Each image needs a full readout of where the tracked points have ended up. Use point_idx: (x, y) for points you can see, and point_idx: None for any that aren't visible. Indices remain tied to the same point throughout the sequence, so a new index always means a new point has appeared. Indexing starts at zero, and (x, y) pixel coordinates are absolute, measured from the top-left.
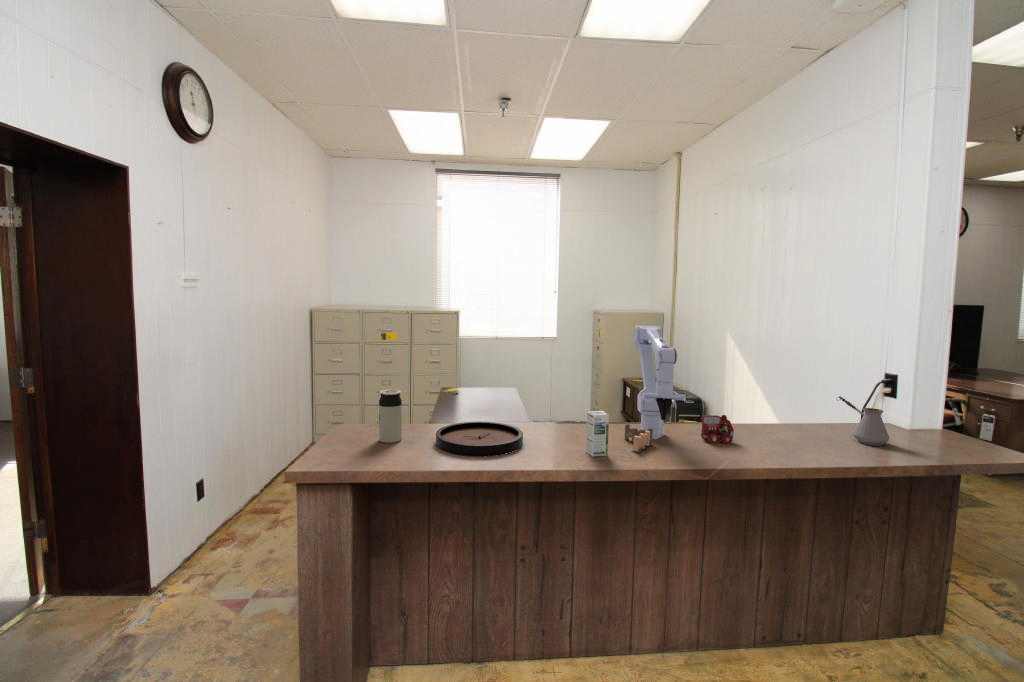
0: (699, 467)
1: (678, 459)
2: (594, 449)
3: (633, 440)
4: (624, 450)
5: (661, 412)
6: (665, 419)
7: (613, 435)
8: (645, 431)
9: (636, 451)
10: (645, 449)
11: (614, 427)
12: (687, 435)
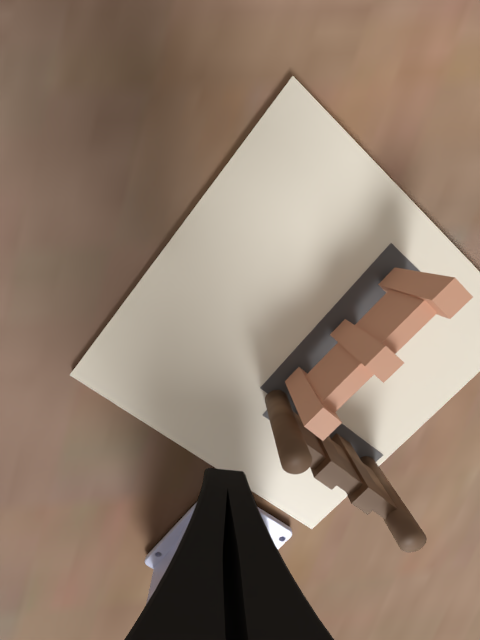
0: (95, 9)
1: (186, 174)
2: None
3: (345, 442)
4: None
5: (265, 542)
6: (205, 474)
7: None
8: (337, 424)
9: None
10: (325, 321)
11: (344, 630)
12: (34, 565)
